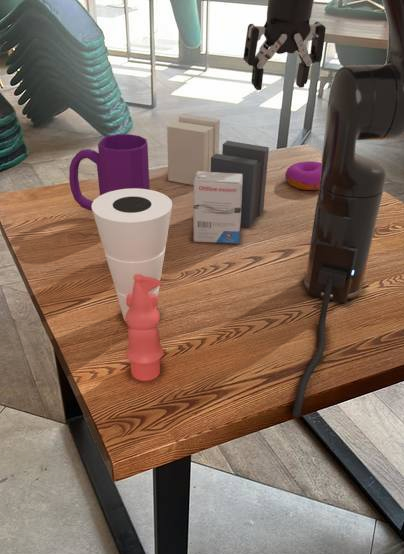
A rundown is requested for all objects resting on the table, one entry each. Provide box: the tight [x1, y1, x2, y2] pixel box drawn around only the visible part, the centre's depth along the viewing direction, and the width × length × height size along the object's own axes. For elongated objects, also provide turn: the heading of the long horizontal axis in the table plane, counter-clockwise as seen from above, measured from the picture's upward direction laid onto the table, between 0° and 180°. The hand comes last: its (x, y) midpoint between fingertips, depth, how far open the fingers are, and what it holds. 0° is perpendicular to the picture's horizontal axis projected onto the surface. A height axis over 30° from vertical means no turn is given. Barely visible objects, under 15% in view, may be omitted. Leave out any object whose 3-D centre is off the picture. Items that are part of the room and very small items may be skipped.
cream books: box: [166, 113, 221, 186], centre depth 127 cm, size 8×9×12 cm
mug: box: [68, 133, 151, 212], centre depth 109 cm, size 9×16×15 cm, turn 83°
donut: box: [284, 160, 322, 191], centre depth 126 cm, size 10×10×5 cm
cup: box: [91, 188, 173, 322], centre depth 82 cm, size 11×11×18 cm
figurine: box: [124, 274, 164, 382], centre depth 73 cm, size 5×5×15 cm
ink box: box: [192, 171, 243, 245], centre depth 104 cm, size 8×5×12 cm, turn 84°
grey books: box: [211, 140, 270, 229], centre depth 111 cm, size 8×9×13 cm
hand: (278, 87), depth 106 cm, fingers open, 8 cm apart
